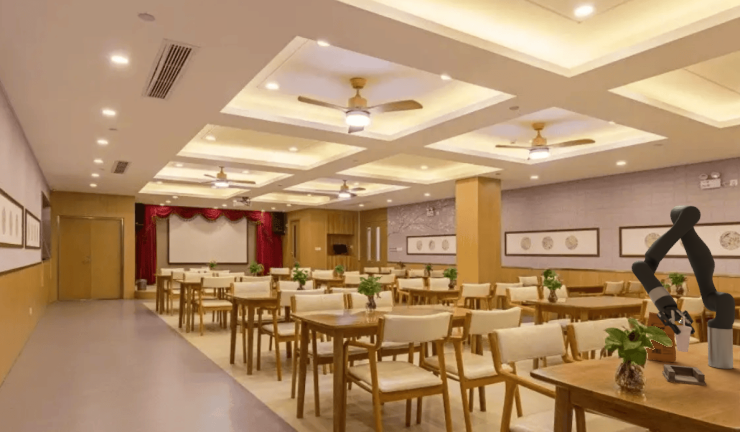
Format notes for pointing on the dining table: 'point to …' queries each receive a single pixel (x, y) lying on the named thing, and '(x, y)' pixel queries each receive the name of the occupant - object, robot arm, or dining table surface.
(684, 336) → the smoothie
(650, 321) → the coffee package
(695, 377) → the grey open-sided tray
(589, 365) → the dining table surface
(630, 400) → the dining table surface
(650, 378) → the dining table surface
